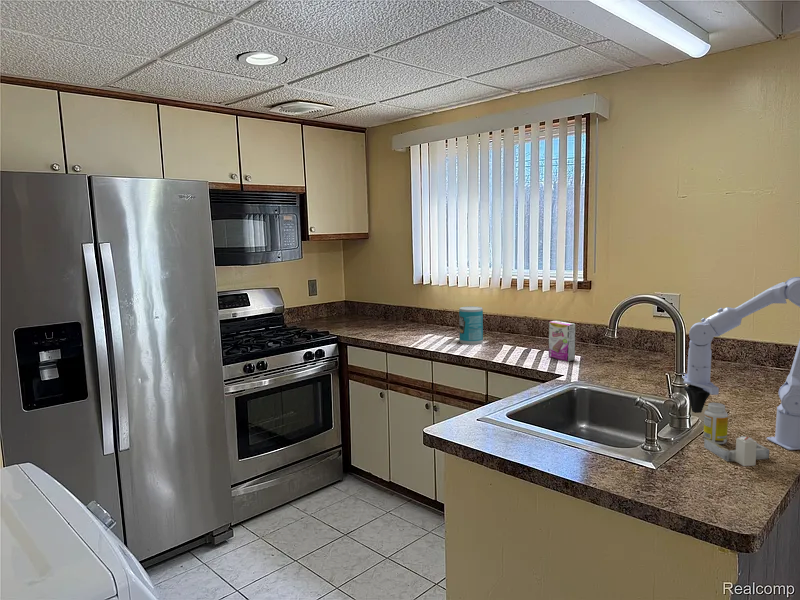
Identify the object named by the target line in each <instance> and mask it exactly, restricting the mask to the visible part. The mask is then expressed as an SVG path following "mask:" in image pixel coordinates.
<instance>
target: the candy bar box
mask: <svg viewBox="0 0 800 600" xmlns="http://www.w3.org/2000/svg"><path fill="white" fill-rule="evenodd" d="M548 358H551V359H555V360H560V361H564V362H568V363H569V362H572V361H575V360H576V324H575V323H570V322H565V321H559V320H552V321H549V322H548Z"/></svg>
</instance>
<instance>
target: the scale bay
mask: <svg viewBox="0 0 800 600" xmlns="http://www.w3.org/2000/svg"><path fill="white" fill-rule="evenodd" d="M740 437H745V436H744V435H741V436H739V438H740ZM703 440H704V441H703V443H704V445H703V448H705V450H707V451H709V452H711V453H713V454H715V455H716V456H717V457H719V458H721V459H723V460H725V461H726V462H728V463H729V462H736V461H735V455H736V449H731V450H729V449H727V448H725V447H724V446H722V445H721V444H717V443H715V442H714V441H712V440H710V439H708V438H706V439H704V438H703ZM769 459H770V449H769V448H767V447H766V446H764V445H762V444H759V443H758V442H757V447H756V460H769Z"/></svg>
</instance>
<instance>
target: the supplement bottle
mask: <svg viewBox="0 0 800 600" xmlns="http://www.w3.org/2000/svg"><path fill="white" fill-rule="evenodd" d="M703 413H704V414H703V415H704V416H703V417H704V418H703V434H702V435H703V436H702V437H703V440H704V439H706V438H708V439H710V440H712V441H714V442H715V443H717V444H719V445H725V444H726V443H727V442H728V427H729V426H728V425H729V424H728V423H729V413H728V412H727V411H726V405H725V404H723V403H721V402H709V403H707V409H705V411H704V412H703Z"/></svg>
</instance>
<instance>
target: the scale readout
mask: <svg viewBox="0 0 800 600" xmlns="http://www.w3.org/2000/svg"><path fill="white" fill-rule="evenodd" d="M735 441H736V443H735V450H736V455H735V461H734V462H736V463H738V464H739V465H741V466H743V467H753V466H756V464H757V463H756V447H757V443H758V442H757V441H756V440H755V439H753V438H752V437H749V436H744V437H740V436H739V437H736V439H735Z"/></svg>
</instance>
